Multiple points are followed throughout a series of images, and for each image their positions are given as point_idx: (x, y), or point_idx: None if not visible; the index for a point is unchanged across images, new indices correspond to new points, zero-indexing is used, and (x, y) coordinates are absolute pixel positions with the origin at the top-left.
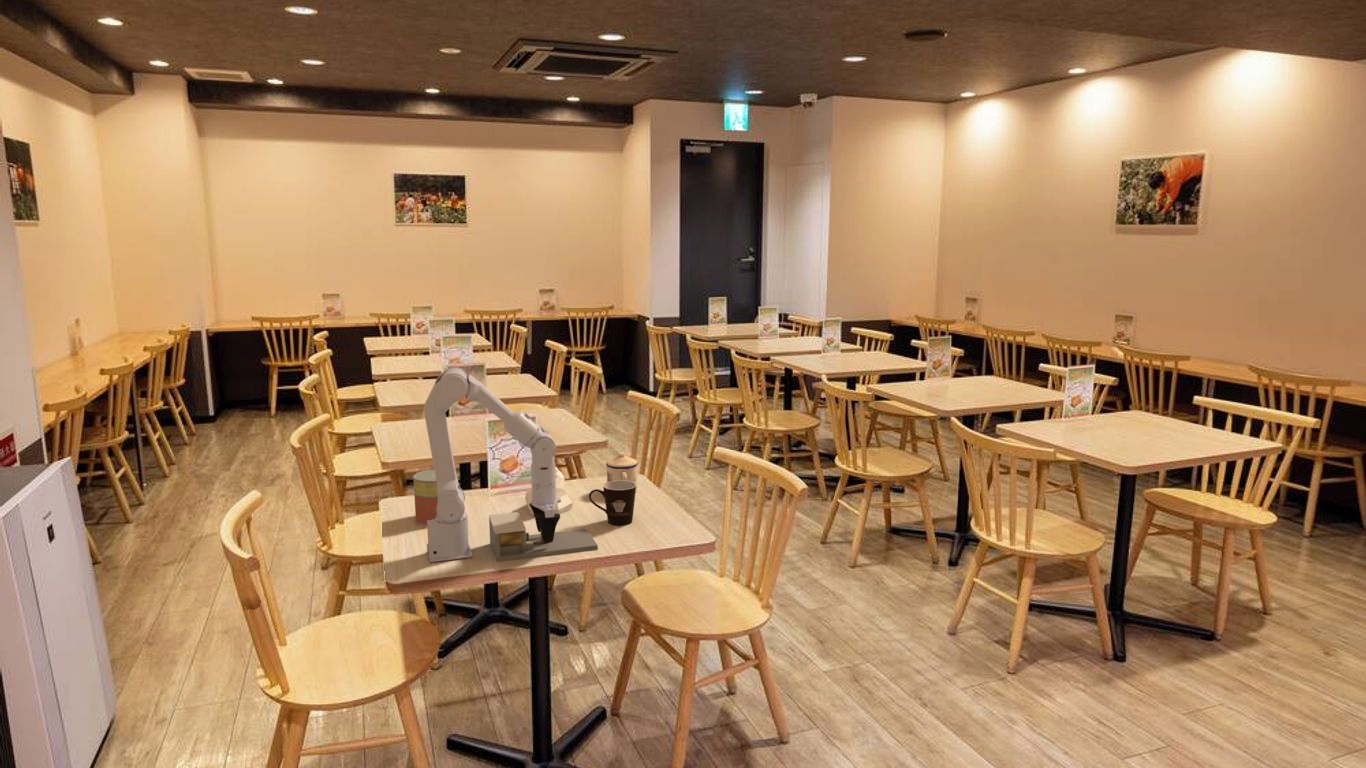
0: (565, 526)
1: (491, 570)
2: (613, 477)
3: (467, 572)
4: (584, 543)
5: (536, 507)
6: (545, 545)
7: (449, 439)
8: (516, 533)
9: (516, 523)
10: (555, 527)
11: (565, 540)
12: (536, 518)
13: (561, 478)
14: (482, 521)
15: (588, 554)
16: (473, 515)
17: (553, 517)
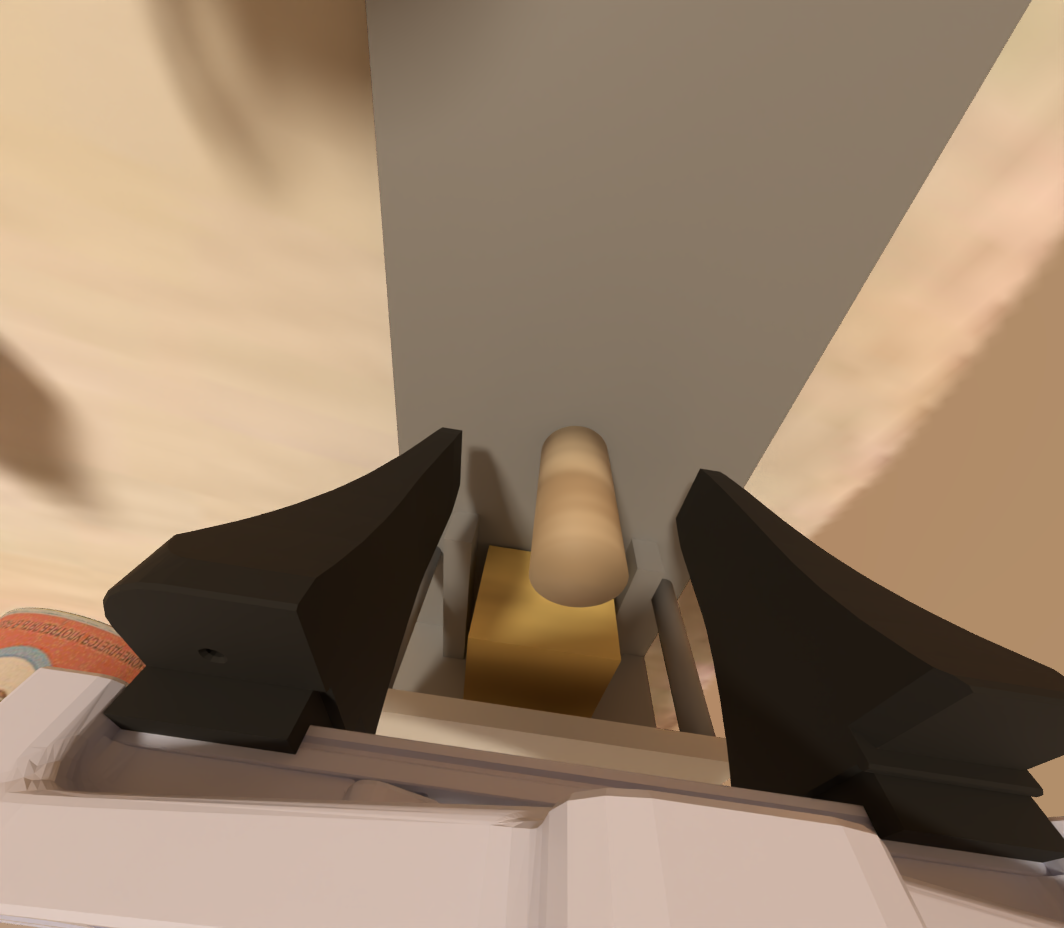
0: (146, 101)
1: (707, 674)
2: None
3: (666, 712)
4: (846, 128)
5: (369, 702)
6: (633, 470)
7: None
8: (605, 688)
9: (599, 764)
10: (839, 563)
11: (629, 303)
12: (418, 581)
13: None
14: (110, 568)
15: (1008, 174)
16: (27, 573)
17: (1021, 767)
